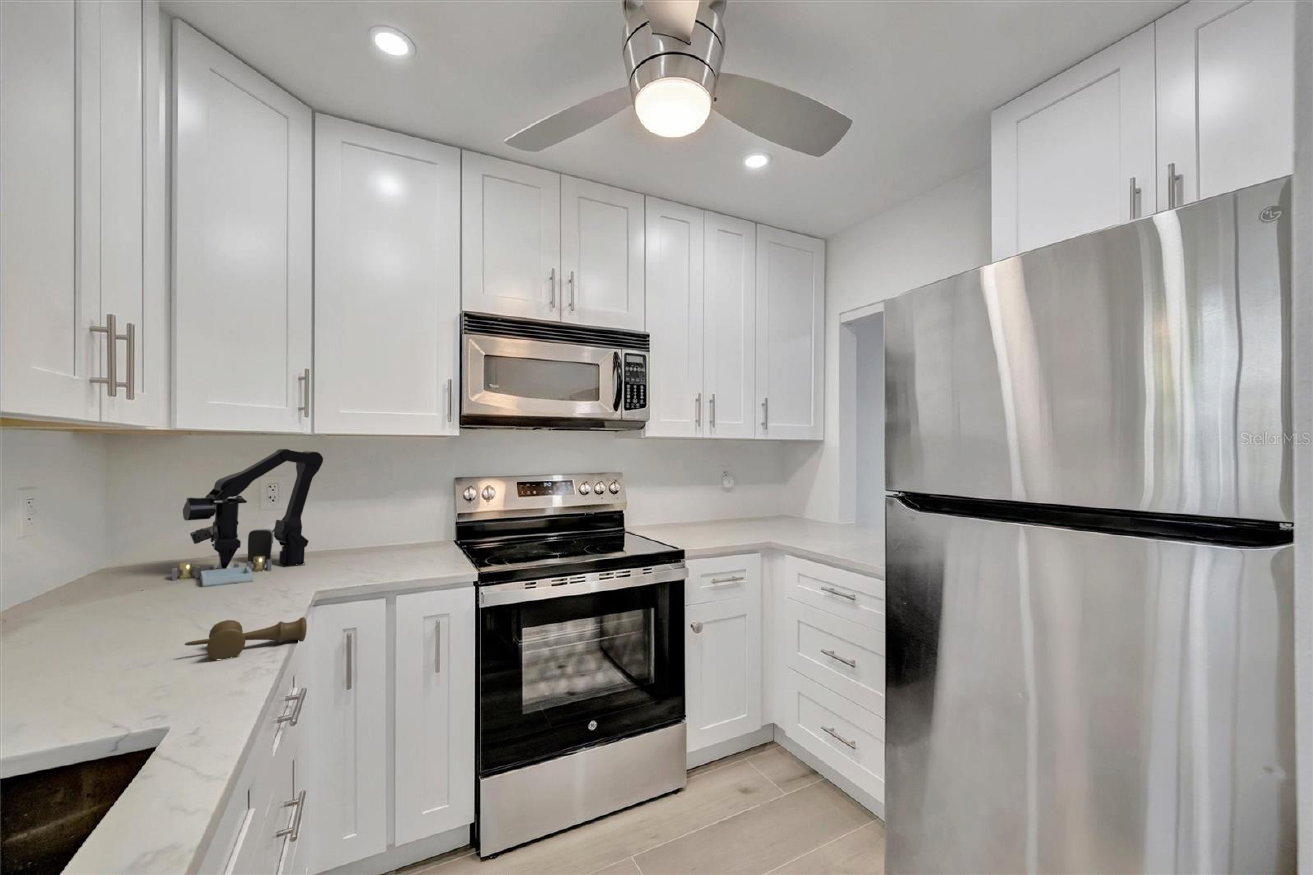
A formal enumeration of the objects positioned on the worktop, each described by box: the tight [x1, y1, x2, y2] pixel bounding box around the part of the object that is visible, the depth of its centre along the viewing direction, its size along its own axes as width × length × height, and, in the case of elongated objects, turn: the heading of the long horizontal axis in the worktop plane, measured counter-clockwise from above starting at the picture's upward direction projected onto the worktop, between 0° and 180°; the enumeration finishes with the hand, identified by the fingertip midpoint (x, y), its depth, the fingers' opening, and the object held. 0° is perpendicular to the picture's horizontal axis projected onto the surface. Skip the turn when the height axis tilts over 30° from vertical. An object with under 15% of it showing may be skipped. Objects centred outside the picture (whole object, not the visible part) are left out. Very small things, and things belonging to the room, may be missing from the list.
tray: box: [200, 566, 254, 588], centre depth 163 cm, size 12×12×2 cm
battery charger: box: [246, 528, 274, 564], centre depth 189 cm, size 7×4×11 cm, turn 113°
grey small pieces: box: [171, 559, 273, 581], centre depth 171 cm, size 24×4×3 cm, turn 133°
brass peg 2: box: [252, 556, 266, 573], centre depth 177 cm, size 3×3×4 cm
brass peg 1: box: [178, 561, 194, 580], centre depth 165 cm, size 3×3×4 cm
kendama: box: [184, 616, 308, 661], centre depth 111 cm, size 6×10×20 cm
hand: (223, 567), depth 171 cm, fingers closed on rook chess piece, 3 cm apart
